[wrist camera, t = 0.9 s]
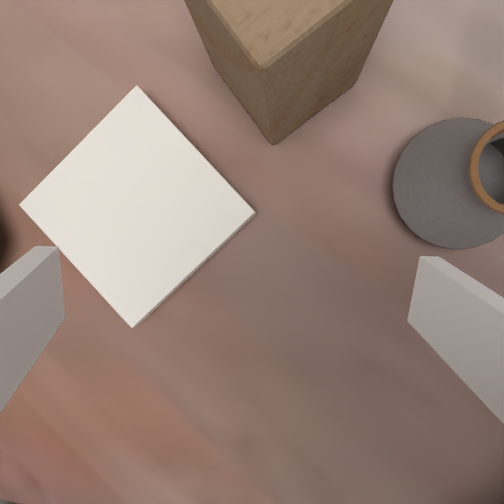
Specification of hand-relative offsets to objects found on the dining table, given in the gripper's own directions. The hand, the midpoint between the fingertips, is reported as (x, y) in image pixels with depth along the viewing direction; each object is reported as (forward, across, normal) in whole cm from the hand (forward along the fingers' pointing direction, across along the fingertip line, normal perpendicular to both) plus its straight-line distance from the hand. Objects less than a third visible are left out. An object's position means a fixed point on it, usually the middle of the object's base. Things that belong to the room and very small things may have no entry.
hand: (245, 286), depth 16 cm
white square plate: (+28, +8, +4) cm, 30 cm away
